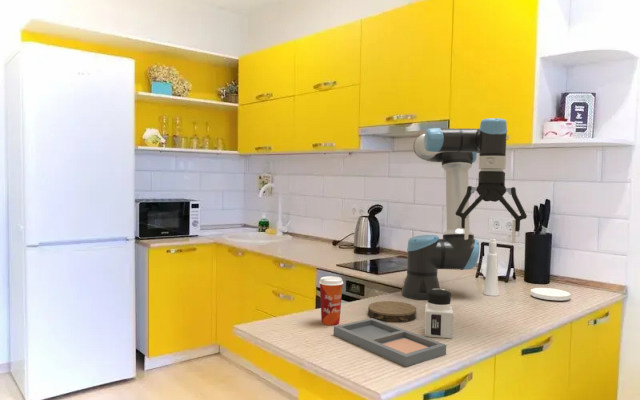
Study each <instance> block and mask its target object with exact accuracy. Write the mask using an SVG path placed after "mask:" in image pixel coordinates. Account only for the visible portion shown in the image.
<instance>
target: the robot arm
mask: <svg viewBox="0 0 640 400" xmlns="http://www.w3.org/2000/svg"><path fill="white" fill-rule="evenodd" d="M507 124H508V123H507V120H506V119H504V118H498V117H496V118H495V117H493V118H483V119H482V120H481V121H480V125H479V128H443V127H442V128H440V127H434V128H432V127H431V128H427V129H426V130H425V132H424V133H423V134H421V135H419V136H417V138H415V140H414V142H413V145H412V147H413V152H414V153H415V155H416V156H417V157H418V158H419V159H421V160H424V161H426V162H431V163H441V167H442V169H443V170H444V171H445V194H446V195H445V197H446V198H445V200H446V201H445V203H446V204H445V205H446V206H445V208H446V211H445V212H446V214H445V215H446V230H445V231H444V233H443V234H442V238H440V237H439V235H437V234H423V235H422V234H421V235H415V236H412V237H410V238H408V241H407V249H406V251H407V261H406V262H407V265H406V277H405V279H404V281H403V286H402V287H401V295H402V296H403V297H405V298H408V299H413V300H421V301H422V300H423V301H428V291H429V290H432V289H441V285H440V281H439V278H438V270H461V271H464V270H467V271H468V270H472V269H474V268H476V266H477V263H478V260H479V255H480V242H479V240H478V239H477V238H475V237H474V235H475V234H474V233H473V232H472V231H471V230H470V214H471V213H472V211H473V210H474V209H475V208H476V207H477V206H478V205H479V204H480V203H481V202H482V201H483V202H493V203H494V202H498V201H499V202H500V203H501V204H502V205H503V207H504V208H505V209H506V210H507V211H508V212H509V213H510V215H511V216H512V217H513V218H514V219H513V220H512V230H511V231H512V232H511V243H512V244H515V243H516V234H517V232H520V231H521V221H523V220H525V219H527V218H528V215H527V213H526V210H525V209H524V207H523V204H522V203H521V201H520V199H519V196H518V195H517V188H516V186H512V187H506V184H505V183H506V172H505V171H504V170H506V160H507V159H506V158H507V154H506V153H507V137H508V136H507V135H508V134H507V133H508V125H507ZM477 154H478V156H479V157H478V159H479V160H478V170H480V171H479V172H478V179H477V180H478V181H477V182H478V185H477V187H476V186H472V185H469V170H470V169H471V168H472V167H473V163H475V162H476V161H477ZM475 192H477V194H478V195H479V196H478V197H477V198H476V199H475V200H474V201H473V202H472V204H470V198H471V196H472V194H475ZM506 193H507V194H509V195H511V198H512V200H513V202H514V204H515V206H516V207H517V210H518V212H519V214H520V215H518V213H517V212H516V211H515V209H514V208H513V207H512V205H511V204H509V202H508V201H507V200H506V198H505V197H504V195H505V194H506Z"/></svg>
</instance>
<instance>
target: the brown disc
mask: <svg viewBox="0 0 640 400" xmlns="http://www.w3.org/2000/svg"><path fill="white" fill-rule="evenodd" d="M367 308H368V309H367V315H368V316H369V317H370V318H374V319H376V320H379V321H382V322H385V323H395V324H397V323H398V324H399V323H408V322H409V323H410V322H412V321H415V320H416V319H417V307H416V306H415V305H414V304H413V305H412V304H410V303H407V302H403V301H402V302H401V301H393V300H392V301H391V300H387V301H385V300H384V301H383V300H382V301H376V302H372V303H369V304H368V307H367Z"/></svg>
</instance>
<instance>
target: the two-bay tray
mask: <svg viewBox="0 0 640 400" xmlns="http://www.w3.org/2000/svg"><path fill="white" fill-rule="evenodd" d="M333 336H336V337H337V338H340V339H342V340H344V341H346V342H348V343H351V344H354V345H356V346H357V347H360V348H362V349H364V350H367V351H369V352H371V353H373V354H375V355H378V356H380V357H383V358H385V359H387V360H390V361H391V362H394V363H396V364H398V365H401V366H402V367H405V368H408V367H411V366H413V365H417V364H420V363H422V362H426V361H430V360H432V359H437V358H440V357H442V356H445V355H447V344H446V343H442V342H440V341H437V340H434V339H431V338H429V337H426V336H423V335H420V334H417V333H414V332H412V331H409V330H406V329H404V328H401V327H398V326H397V325H396V326H395V325H393V324H391V323H388V322H384V321H379V320H376V319H374V318H371V317H370V318H365V319H362V320H357V321H352V322H348V323H342V324H337V325H333Z"/></svg>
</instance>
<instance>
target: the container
mask: <svg viewBox="0 0 640 400" xmlns="http://www.w3.org/2000/svg"><path fill="white" fill-rule="evenodd" d="M451 295H452V294H451V292H450V291H449V290H447V289H443V288H440V289H432V290H429V291H428V300H427V303H426V304H424V337H426V338H429V337H430V338H441V339H442V338H443V339H453V332H454V330H453V329H454V326H453V325H454V312H453V307H452V305H451Z"/></svg>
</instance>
